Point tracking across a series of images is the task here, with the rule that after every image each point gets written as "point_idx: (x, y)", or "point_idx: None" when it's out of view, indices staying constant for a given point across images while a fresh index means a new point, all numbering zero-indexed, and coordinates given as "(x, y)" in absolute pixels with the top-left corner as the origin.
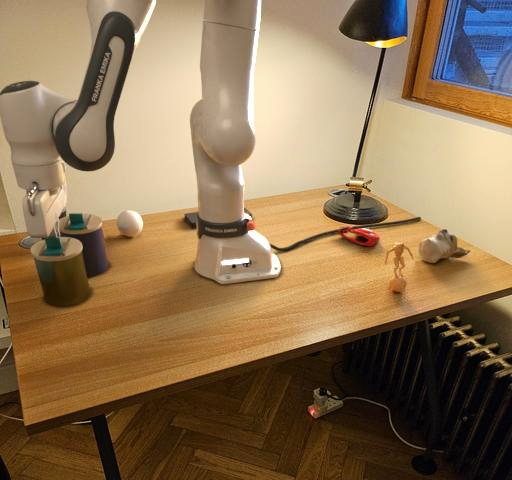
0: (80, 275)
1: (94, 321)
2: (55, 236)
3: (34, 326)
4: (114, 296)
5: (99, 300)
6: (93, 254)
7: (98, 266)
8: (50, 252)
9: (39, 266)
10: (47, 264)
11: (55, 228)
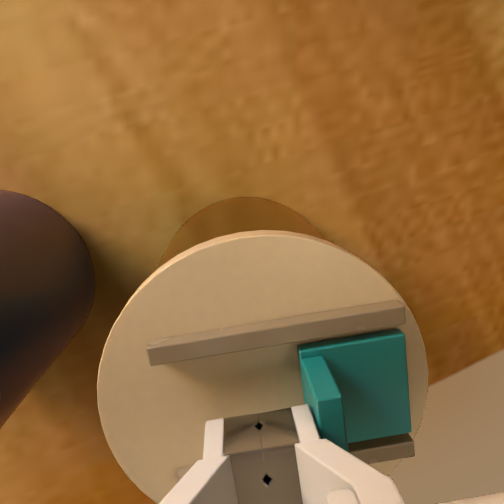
0: (295, 221)
1: (426, 121)
2: (316, 435)
3: (451, 319)
4: (237, 89)
5: (274, 146)
6: (18, 238)
7: (38, 215)
8: (391, 397)
9: None
10: None
11: (226, 486)
